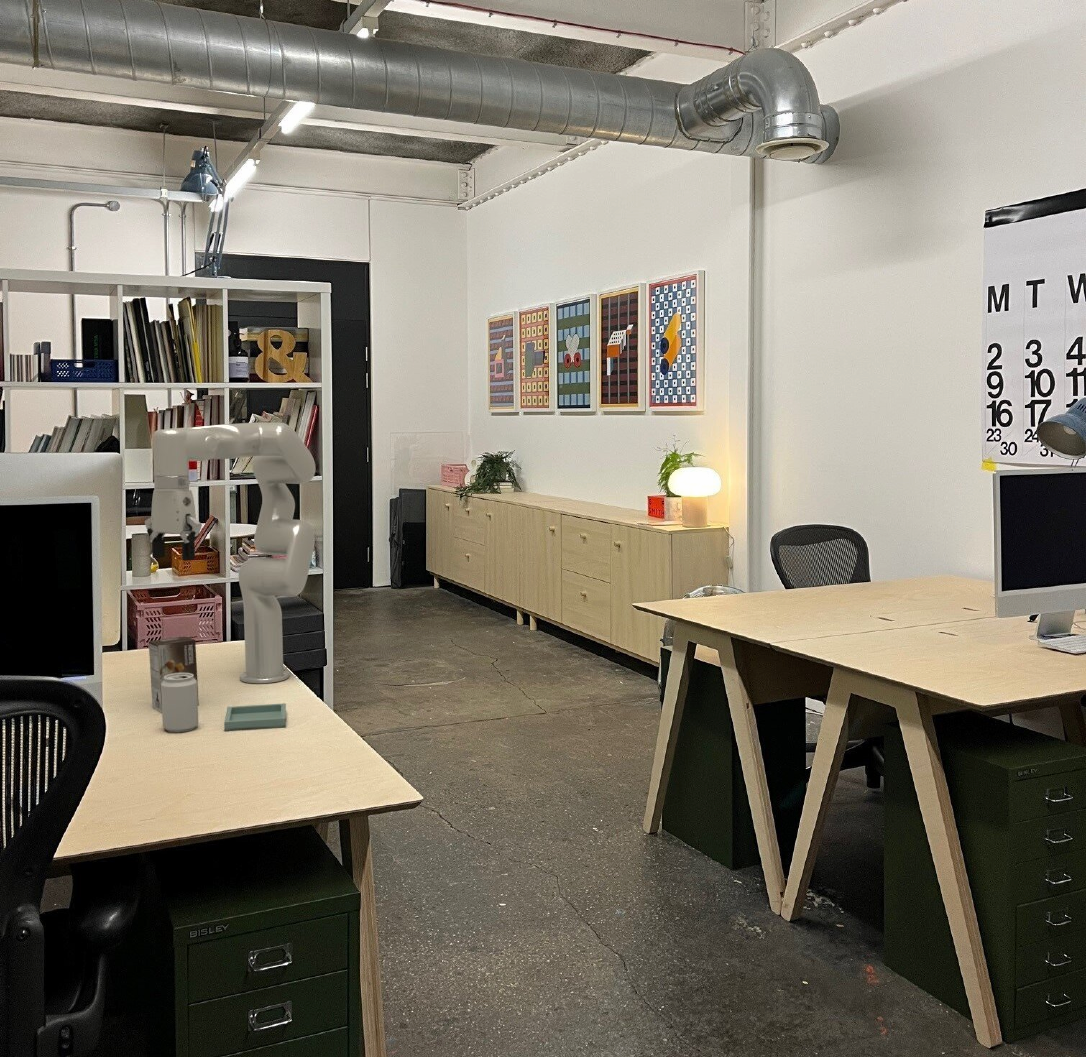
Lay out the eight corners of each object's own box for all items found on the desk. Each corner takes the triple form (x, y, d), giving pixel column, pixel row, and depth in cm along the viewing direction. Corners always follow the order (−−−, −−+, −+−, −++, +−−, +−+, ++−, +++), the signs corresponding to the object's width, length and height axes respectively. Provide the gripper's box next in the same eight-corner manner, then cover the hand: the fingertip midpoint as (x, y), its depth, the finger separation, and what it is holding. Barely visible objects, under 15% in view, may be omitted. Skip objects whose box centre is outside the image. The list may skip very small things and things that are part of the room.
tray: (227, 715, 253) (227, 706, 252) (285, 711, 255) (285, 703, 255) (224, 731, 240) (224, 722, 240) (285, 727, 243) (285, 718, 243)
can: (205, 726, 244) (204, 673, 242) (179, 735, 237) (177, 680, 236) (182, 722, 247) (180, 669, 246) (155, 730, 241) (153, 676, 240)
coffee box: (188, 701, 265) (186, 635, 264) (199, 706, 260) (197, 639, 259) (150, 707, 260) (148, 640, 258) (161, 713, 255) (158, 644, 253)
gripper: (211, 484, 249) (213, 559, 250) (158, 482, 257) (160, 555, 259) (185, 485, 242) (187, 562, 244) (132, 483, 251) (134, 558, 252)
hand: (173, 558), depth 251 cm, fingers open, 9 cm apart
